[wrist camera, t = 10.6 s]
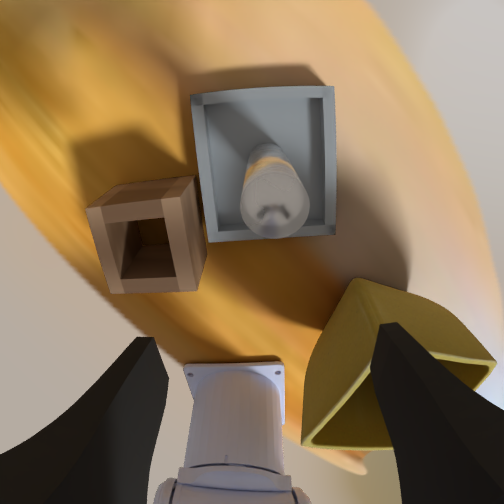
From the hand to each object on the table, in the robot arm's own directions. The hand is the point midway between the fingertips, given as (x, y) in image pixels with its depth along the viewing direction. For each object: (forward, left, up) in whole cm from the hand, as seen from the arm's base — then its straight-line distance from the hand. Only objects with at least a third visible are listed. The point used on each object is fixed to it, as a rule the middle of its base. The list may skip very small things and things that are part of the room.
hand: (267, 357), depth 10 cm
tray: (+4, 0, -10) cm, 11 cm away
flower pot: (-7, -7, -10) cm, 14 cm away
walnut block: (+1, +6, -10) cm, 12 cm away
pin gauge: (+4, 0, -10) cm, 10 cm away
